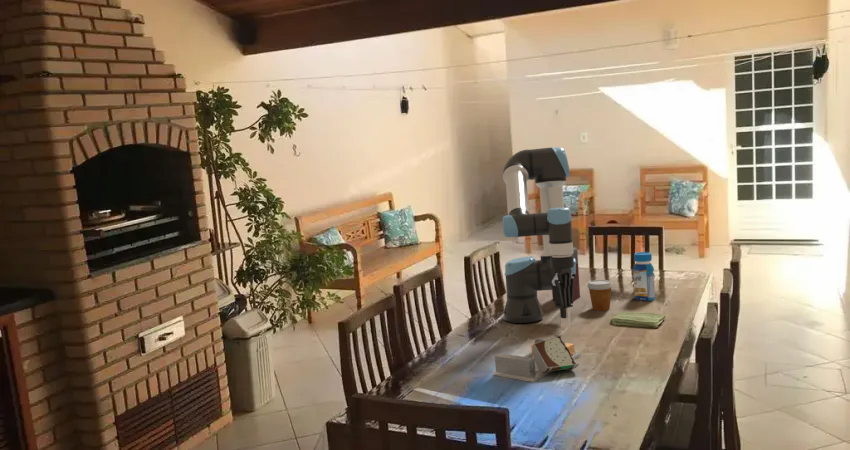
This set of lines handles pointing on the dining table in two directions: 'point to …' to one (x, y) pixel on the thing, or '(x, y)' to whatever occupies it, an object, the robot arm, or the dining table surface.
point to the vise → (520, 367)
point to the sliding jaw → (568, 345)
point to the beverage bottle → (643, 277)
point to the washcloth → (637, 319)
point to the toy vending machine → (576, 284)
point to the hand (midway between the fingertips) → (566, 327)
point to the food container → (553, 355)
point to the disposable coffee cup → (600, 294)
